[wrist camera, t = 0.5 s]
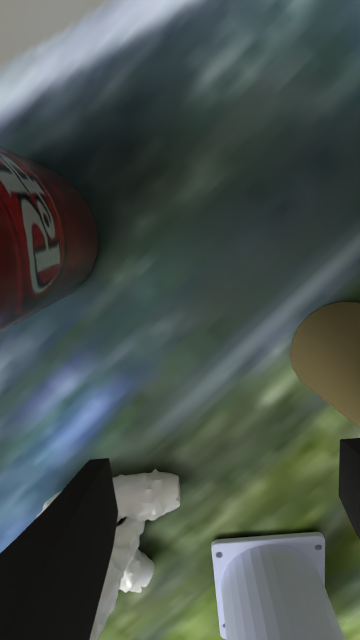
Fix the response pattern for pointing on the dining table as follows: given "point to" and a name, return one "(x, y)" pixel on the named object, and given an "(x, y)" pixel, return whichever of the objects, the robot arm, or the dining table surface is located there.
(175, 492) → the sitting furry creature
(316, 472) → the dining table surface
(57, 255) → the soda can
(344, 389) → the pepper shaker
